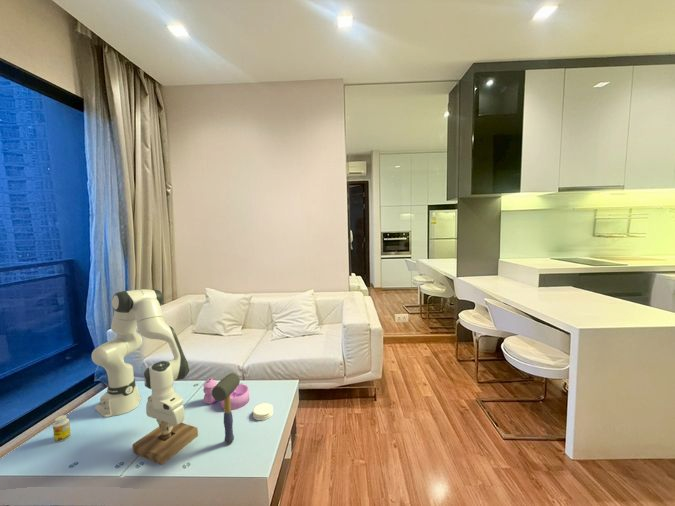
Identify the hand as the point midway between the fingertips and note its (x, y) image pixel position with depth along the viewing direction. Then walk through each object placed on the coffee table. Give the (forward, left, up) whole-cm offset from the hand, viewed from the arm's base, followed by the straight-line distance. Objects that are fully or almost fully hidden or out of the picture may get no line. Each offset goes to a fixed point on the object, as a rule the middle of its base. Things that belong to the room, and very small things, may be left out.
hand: (165, 428), depth 131 cm
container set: (+1, +35, -8) cm, 36 cm away
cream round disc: (+28, +33, -8) cm, 44 cm away
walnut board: (0, 0, -7) cm, 7 cm away
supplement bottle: (-50, -15, -8) cm, 53 cm away
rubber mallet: (+26, +11, -8) cm, 29 cm away
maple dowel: (0, 0, -6) cm, 6 cm away
